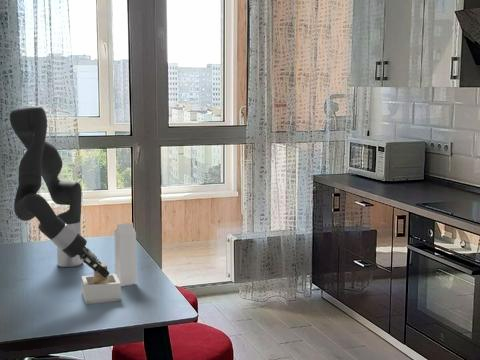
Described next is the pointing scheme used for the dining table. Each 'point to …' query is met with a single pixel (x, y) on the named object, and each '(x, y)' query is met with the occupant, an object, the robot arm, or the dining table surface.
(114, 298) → the white well
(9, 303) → the dining table surface
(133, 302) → the dining table surface
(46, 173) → the robot arm
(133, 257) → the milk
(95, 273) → the beech post
